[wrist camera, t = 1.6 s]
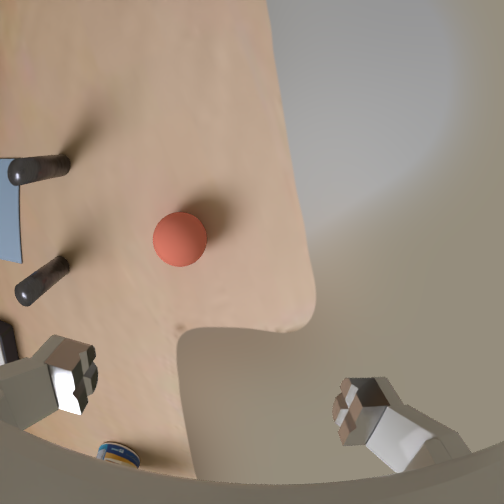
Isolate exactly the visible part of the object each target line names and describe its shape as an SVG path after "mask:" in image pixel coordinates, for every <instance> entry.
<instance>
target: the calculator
mask: <svg viewBox="0 0 504 504" xmlns="http://www.w3.org/2000/svg"><path fill="white" fill-rule="evenodd" d="M17 360H19V357H18V352H17V347H16V342H15V337H14V331H13V327H12V326H11V325H10V324H7V323H5V322H3V321H1V320H0V366H1V365H4V364H7V363H10V362H14V361H17Z"/></svg>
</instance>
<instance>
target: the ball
mask: <svg viewBox="0 0 504 504" xmlns="http://www.w3.org/2000/svg"><path fill="white" fill-rule="evenodd" d="M206 243H207V235H206V231H205V228H204V226H203V225H202V223H201V222H200V221H199V220H198V219H197V218H196V217H195V216H193V215H191V214H188V213H184V212H176V213H172V214H169V215H167V216H165V217H164V218H163V219H162V220H161V221H160V222H159V223H158V224H157V226H156V228H155V231H154V234H153V245H154V248H155V251H156V253H157V255H158V256H159V257H160V258H161V259H162V260H163V261H164V262H166V263H167V264H169V265H172V266H177V267H182V266H187V265H190V264H192V263H194V262H196V261H197V260H198V259H199V258H200V257H201V256H202V254H203V252H204V250H205V248H206Z"/></svg>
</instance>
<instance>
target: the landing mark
mask: <svg viewBox="0 0 504 504" xmlns="http://www.w3.org/2000/svg"><path fill="white" fill-rule="evenodd" d="M12 160H14V159H0V259H3V260H7V261H12V262H16V263H21V264H22V254H21V241H20V220H19V186H14V185H12V184H11V183H10V181H9V179H8V175H7V171H8V167H9V164H10V163H11V161H12Z"/></svg>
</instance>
